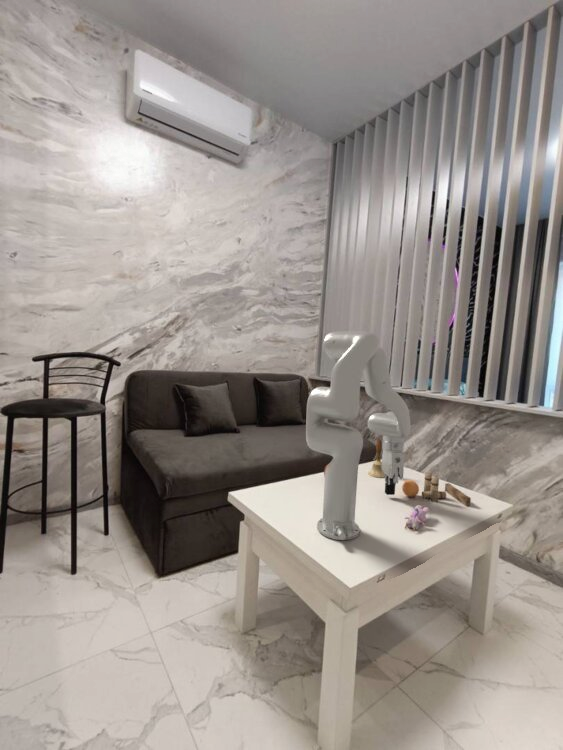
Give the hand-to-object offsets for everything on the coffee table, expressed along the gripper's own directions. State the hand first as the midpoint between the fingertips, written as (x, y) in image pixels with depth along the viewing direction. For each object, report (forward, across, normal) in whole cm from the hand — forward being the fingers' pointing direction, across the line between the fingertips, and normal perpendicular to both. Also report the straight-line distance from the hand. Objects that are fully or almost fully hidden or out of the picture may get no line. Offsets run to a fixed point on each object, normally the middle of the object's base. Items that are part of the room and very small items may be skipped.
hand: (389, 493), depth 132 cm
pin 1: (+2, +3, -16) cm, 16 cm away
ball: (-2, +2, -9) cm, 9 cm away
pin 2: (+2, -2, -16) cm, 16 cm away
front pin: (0, 0, -13) cm, 13 cm away
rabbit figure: (+2, -19, -2) cm, 19 cm away
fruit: (+2, +16, +18) cm, 24 cm away
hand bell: (+2, +24, -4) cm, 25 cm away
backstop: (+2, 0, -26) cm, 27 cm away
